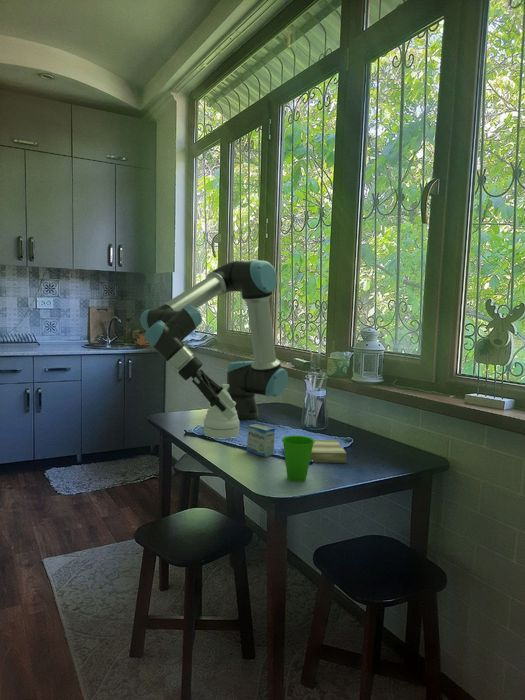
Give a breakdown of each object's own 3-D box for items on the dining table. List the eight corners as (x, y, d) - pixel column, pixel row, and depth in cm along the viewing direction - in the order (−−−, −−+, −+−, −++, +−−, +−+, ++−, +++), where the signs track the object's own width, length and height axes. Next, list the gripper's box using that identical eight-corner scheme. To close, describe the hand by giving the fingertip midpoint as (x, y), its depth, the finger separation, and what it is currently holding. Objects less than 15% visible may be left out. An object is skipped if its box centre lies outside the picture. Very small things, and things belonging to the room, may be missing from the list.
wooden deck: (283, 447, 163) (283, 439, 163) (336, 448, 164) (337, 440, 164) (287, 461, 149) (288, 452, 149) (345, 462, 150) (346, 453, 150)
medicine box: (246, 451, 158) (247, 425, 157) (255, 449, 161) (256, 423, 160) (265, 457, 153) (266, 430, 152) (274, 454, 156) (275, 427, 155)
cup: (280, 483, 131) (281, 443, 130) (280, 472, 140) (282, 434, 139) (313, 485, 131) (315, 445, 130) (312, 473, 140) (313, 436, 139)
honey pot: (216, 427, 186) (217, 381, 184) (245, 433, 180) (247, 384, 178) (196, 435, 174) (197, 385, 173) (227, 441, 168) (228, 390, 167)
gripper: (181, 366, 165) (224, 411, 167) (171, 378, 140) (222, 430, 142) (197, 351, 165) (240, 396, 167) (190, 360, 140) (241, 413, 142)
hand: (232, 412), depth 155 cm, fingers open, 13 cm apart
